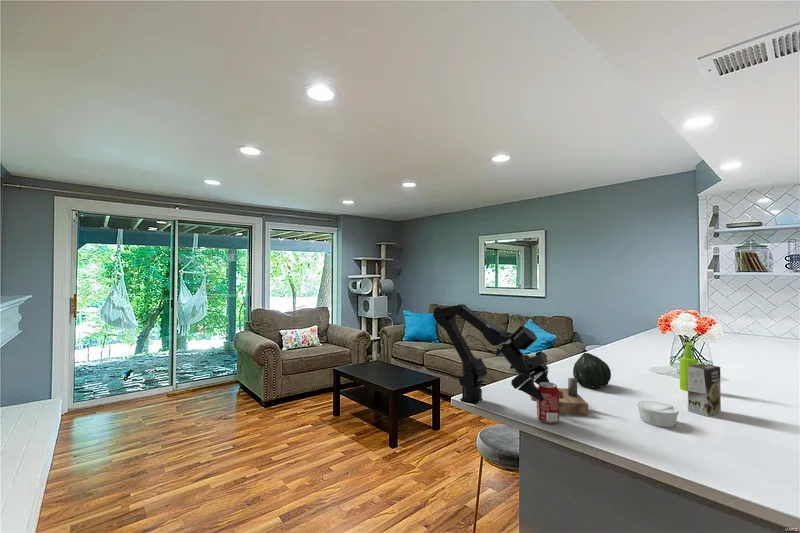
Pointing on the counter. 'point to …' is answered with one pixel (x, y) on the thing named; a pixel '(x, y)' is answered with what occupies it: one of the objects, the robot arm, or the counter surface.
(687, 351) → the soap dispenser
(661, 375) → the counter surface
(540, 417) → the soda can
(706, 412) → the coffee box
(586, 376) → the squash
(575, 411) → the peg board
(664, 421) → the ramekin
